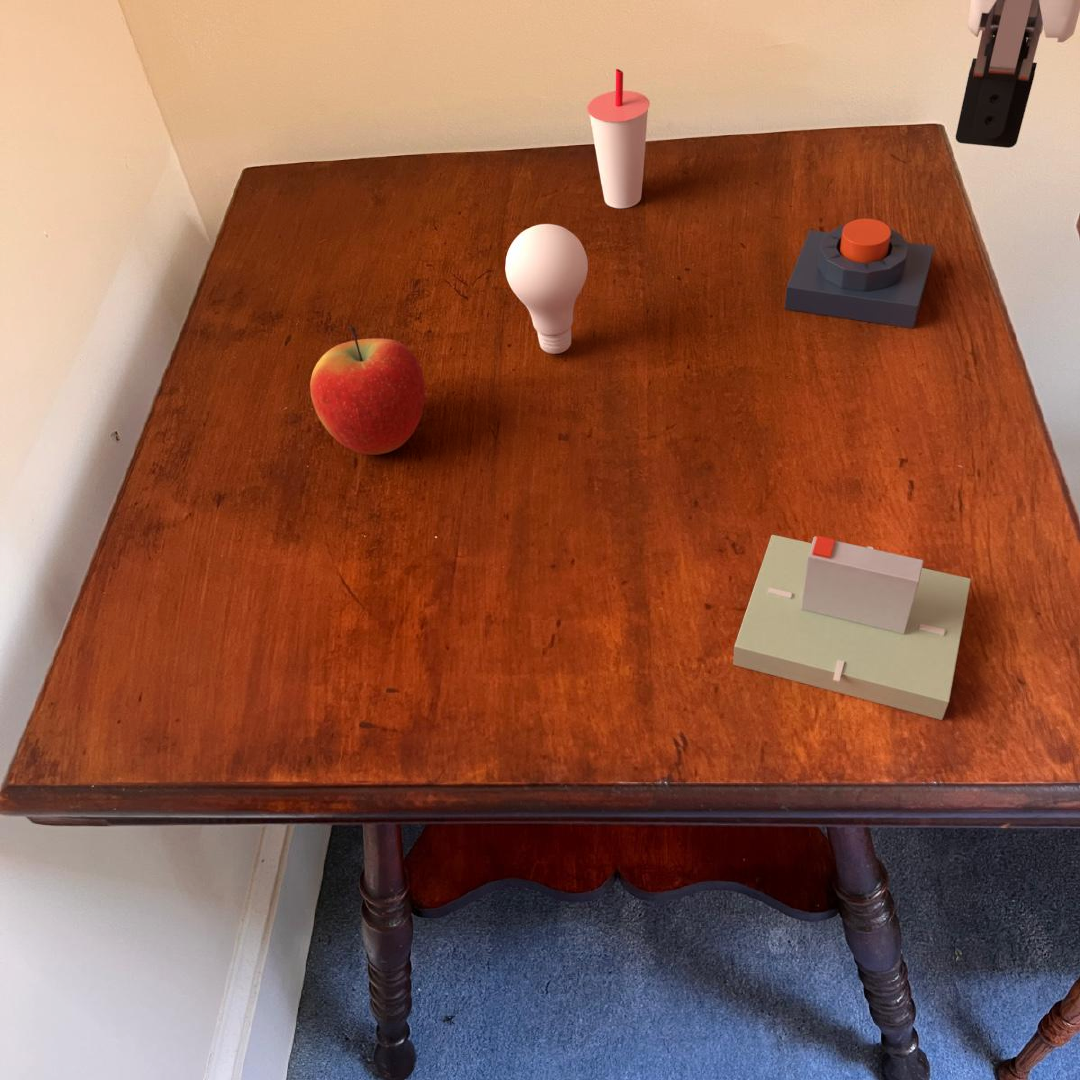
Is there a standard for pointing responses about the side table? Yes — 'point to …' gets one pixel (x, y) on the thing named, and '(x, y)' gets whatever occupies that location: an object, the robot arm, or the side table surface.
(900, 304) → the button block
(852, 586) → the tap handle
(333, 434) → the apple
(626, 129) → the cup
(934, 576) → the panel
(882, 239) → the button
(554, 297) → the lightbulb
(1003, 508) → the side table surface
